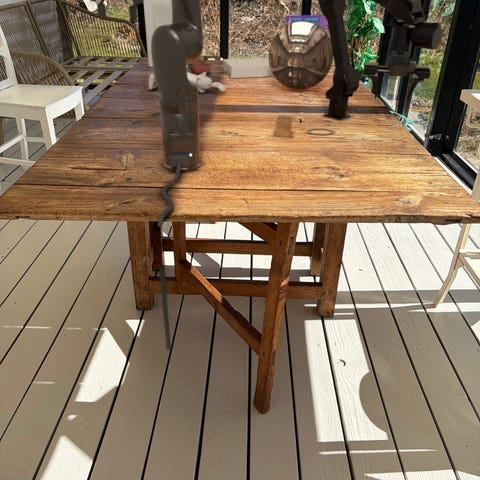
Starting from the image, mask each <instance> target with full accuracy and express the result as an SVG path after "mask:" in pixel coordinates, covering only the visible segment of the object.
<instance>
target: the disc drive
mask: <svg viewBox="0 0 480 480" xmlns="http://www.w3.org/2000/svg"><path fill="white" fill-rule="evenodd" d="M222 61H223V62H222V66H223V67H222V70H223V71H224V72H225V73H226V74H227V75H228V76H229V78H231V79H237V78H238V79H240V78H241V79H242V78H263V77H275V76H274V75H273V73H272V71H271V68H270V65H269V57H258V58H257V57H256V58H254V57H253V58H225V59H223V60H222Z"/></svg>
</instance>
